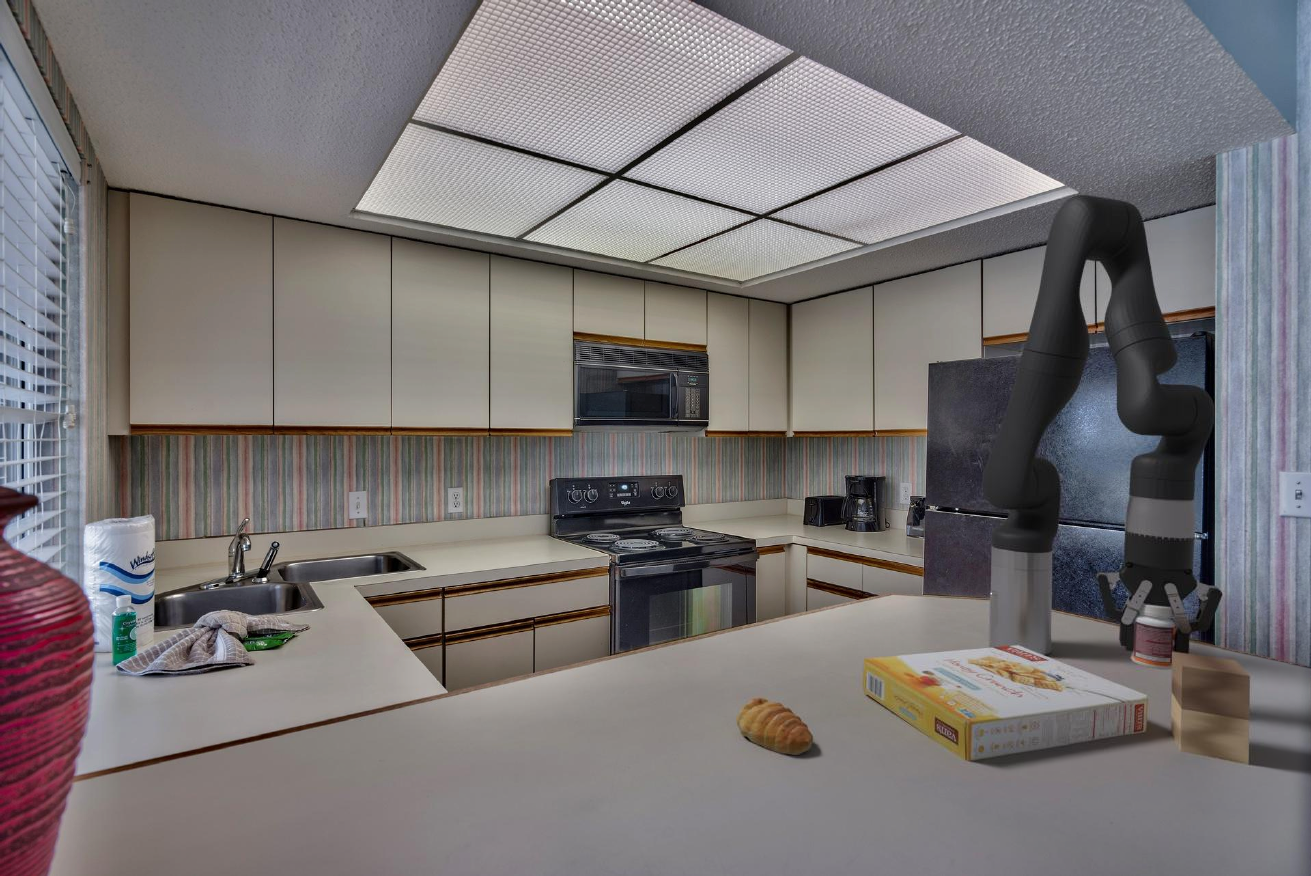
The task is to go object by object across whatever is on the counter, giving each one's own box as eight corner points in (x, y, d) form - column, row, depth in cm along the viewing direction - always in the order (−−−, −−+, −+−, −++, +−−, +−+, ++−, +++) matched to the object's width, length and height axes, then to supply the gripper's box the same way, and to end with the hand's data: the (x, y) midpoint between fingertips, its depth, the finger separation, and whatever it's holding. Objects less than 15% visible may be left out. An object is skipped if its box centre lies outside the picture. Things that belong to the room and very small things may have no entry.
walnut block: (1181, 708, 76) (1182, 666, 76) (1171, 691, 81) (1172, 651, 81) (1249, 720, 73) (1250, 675, 73) (1234, 701, 78) (1235, 660, 78)
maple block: (1180, 751, 76) (1181, 708, 76) (1171, 731, 81) (1171, 691, 81) (1248, 765, 73) (1249, 720, 73) (1234, 743, 78) (1234, 702, 78)
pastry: (827, 749, 76) (827, 716, 76) (786, 765, 72) (787, 731, 72) (769, 719, 84) (769, 690, 84) (729, 733, 80) (729, 702, 80)
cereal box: (860, 656, 92) (1016, 639, 100) (859, 695, 92) (1015, 674, 101) (970, 719, 72) (1152, 691, 81) (969, 769, 73) (1150, 735, 81)
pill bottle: (1181, 672, 87) (1185, 609, 86) (1141, 668, 88) (1144, 606, 87) (1162, 659, 91) (1165, 600, 91) (1124, 655, 92) (1127, 597, 92)
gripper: (1097, 528, 89) (1091, 651, 90) (1234, 541, 82) (1227, 674, 82) (1094, 521, 96) (1088, 636, 96) (1221, 532, 88) (1214, 657, 89)
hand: (1152, 653), depth 89 cm, fingers closed on pill bottle, 4 cm apart
